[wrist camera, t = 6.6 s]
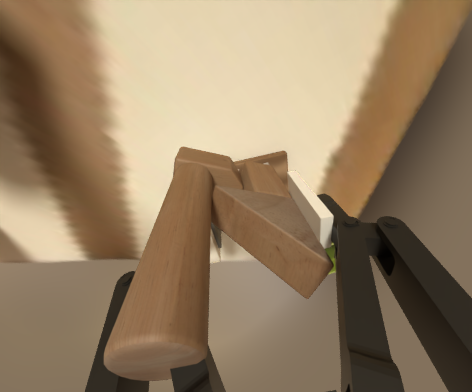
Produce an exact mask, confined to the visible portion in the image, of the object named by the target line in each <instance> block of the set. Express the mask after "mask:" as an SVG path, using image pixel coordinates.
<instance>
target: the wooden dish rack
mask: <svg viewBox="0 0 472 392" xmlns="http://www.w3.org/2000/svg"><path fill="white" fill-rule="evenodd" d="M245 161H252V162H257V163H261V164H266V165H271V166H273V168H274V169H275V171H276V172H277V174H278V176H279V177H280V179H281V180H282V182H283V184H284V185H285V187H286V189H287V190H288V177H287V172H288V162H287V153H286V152H285V151H280V152H276V153H271V154H267V155H263V156H258V157H254V158H249V159H245V160H241V161H236V162H233V163H234V164H235V166H236V167H237V169H238V170H239V172H240V174H241V172H242V169H243V165H244V163H245ZM288 192H289V190H288ZM220 248H222V247H221V230H220V229H219V228H218V227H217V226H215V225H214V224H213V223H212V222H211V240H210V264H211V263H216V262H220V261H221V258H220Z"/></svg>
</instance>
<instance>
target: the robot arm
mask: <svg viewBox="0 0 472 392" xmlns="http://www.w3.org/2000/svg"><path fill="white" fill-rule="evenodd" d="M287 177H288V190H289V193H290V195H291V197H292V199H293V200H294V201H295V203H296V204H297V206H298V207H299V209H300V211H301V212H302V214H303V216H304V217H305V219H306V221H307V222H308V224H309V225H310V227H311V229H312V230H313V232H314V234H315V235H316V237H317V239H318V240H319V242H320V243H321V244H322V246H323V247H324V249H325V248H330V247H331V243H332V242H333V244H334V245H335V252H334V258H335V266H336V282H337V283H336V284H337V301H338V302H337V303H338V321H339V338H340V356H341V392H404V388H403V383H402V379H401V376H400V372H399V370H398V368H397V366H396V364H395V363H394V362H393V360H392V358H391V355H390V350H389V345H388V340H387V336H386V331H385V327H384V322H383V318H382V313H381V308H380V304H379V300H378V295H377V290H376V286H375V281H374V277H373V272H372V267H371V263H370V258H369V255H370V256H372V258H373V259H374V261H375V263H376V265H377V266H378V268H379V270H380V271H381V273H382V275H383V277H384V279H385V280H386V282H387V284H388V286H389V287H390V289H391V291H392V293H393V294H394V296H395V298H396V300H397V301H398V303H399V305H400V307H401V308H402V310H403V312H404V314H405V316H406V317H407V319H408V321H409V323H410V324H411V326H412V328H413V329H414V331H415V333H416V335H417V337H418V338H419V340H420V342H421V344H422V345H423V347H424V349H425V350H426V352H427V354H428V356H429V358H430V359H431V361H432V363H433V365H434V366H435V368H436V370H437V372H438V373H439V375H440V377H441V379H442V381H443V382H444V384H445V386H446V387H447V389H448V391H449V392H472V298H471V297H470V296H469V295H468V294H467V293H466V292H465V290H464V289H463V288H462V287H461V286H460V285H459V284H458V283H457V282H456V280H455V279H454V278H453V277H452V276H451V275H450V274H449V273H448V271H447V270H446V269H445V268H444V267H443V266H442V265H441V264H440V262H439V261H438V260H437V259H436V258H435V257H434V256H433V255H432V254H431V252H430V251H429V250H428V249H427V248H426V247H425V246H424V245H423V243H422V242H421V241H420V240H419V239H418V238H417V237H416V236H415V234H414V233H413V232H412V231H411V230H410V229H409V228H408V227H407V226H406V224H405V223H404V222H402V221H401V220H399V219H397V218H394V217H389V216H384V217H381V218H379V219H378V220H377V223H363V222H361V221H359V220H358V219H357V218H354V217H350V216H348V215H347V214H346V213H345V212H344V211H343V209H342V208H341V207H340V206H339V205H337V203H336V202H335V201H334V200H333V199H332V198H331V197H330V196H328V195H326V194H321V195H316V194H315V193H314V192H313V191H312V189H311V188H310V187H309V186H308V184H307V183H306V182H305V181H304V180H303V178H302V177H301V176H300V175H299V174H298V172H297V171H296V170H294V171H289V172H287ZM134 275H135V272H134V271H131V272H128V273H126V274H124V275H123V276H122V277H121V278H120V279H119V280H118V281H117V284H116V287H115V290H114V293H113V297H112V300H111V304H110V307H109V310H108V314H107V317H106V321H105V324H104V327H103V331H102V334H101V338H100V341H99V345H98V348H97V352H96V355H95V359H94V362H93V365H92V369H91V372H90V376H89V379H88V382H87V386H86V389H85V392H148V391H149V381H141V380H133V379H128V378H125V377H121V376H119V375H117V374H115V373H113V372H111V371H109V370H108V369H107V368H106V366H105V365H104V352H105V347H106V345H107V342H108V340H109V337H110V335H111V332H112V330H113V327H114V325H115V322H116V320H117V317H118V315H119V312H120V310H121V307H122V305H123V302H124V300H125V297H126V295H127V292H128V290H129V287H130V285H131V282H132V280H133V277H134ZM170 371H171V376H172V381H173V386H174V391H175V392H226V391H225V389H224V386H223V383H222V381H221V378H220V375H219V373H218V370H217V368H216V365H215V362H214V359H213V357H212V354H211V351H210V349H209V346H208V351H207V356H206V358H205V359H203V360H202V361H200V362H199V363H197V364H193V365H188V366H183V367H178V368H173V369H170ZM328 392H336V390H334V391H328Z"/></svg>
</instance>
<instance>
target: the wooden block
mask: <svg viewBox="0 0 472 392" xmlns="http://www.w3.org/2000/svg"><path fill="white" fill-rule="evenodd" d="M211 222H212V223H213V224H214V225H215V226H217V227H218V228H219V229H220V230H222V231H223V232H224V233H225V234H227V235H228V236H229V237H230V238H232V239H233V240H234V241H235V242H236V243H238V244H239V245H240V246H241V247H243V248H244V249H245V250H246V251H248V252H249V253H250V254H251V255H253V256H254V257H255V258H256V259H258V260H259V261H260V262H261V263H263V264H264V265H265V266H266V267H267V268H269V269H270V270H271V271H272V272H274V273H275V274H276V275H277V276H279V277H280V278H281V279H282V280H284V281H285V282H286V283H287V284H288V285H290V286H291V287H292V288H293V289H295V290H296V291H297V292H299V293H300V294H301V295H302V296H303V297H305V298H307V299H308V298H309V297H310V296H311V295H312V294H313V292H314V291H315V290H316V289H317V287H318V286H319V285H320V283H321V282H322V281H323V279H325V277H326V276H327V275H328V274H329V272H330V271H331V270H332V268H333V267H334V264H333V262H332V260H331V259H330V257H329V255H328V254H327V252H326V251H325V249H324V247H323V246H322V244H321V243H320V242H319V240H318V239H317V237H316V235H315V234H314V232H313V230H312V229H311V227H310V225H309V224H308V222H307V221H306V219H305V217H304V216H303V214H302V212H301V211H300V209H299V207H298V206H297V204H296V203H295V201H294V200H293V199H292V197H291V195H290V193H289V192H288V190H287V189H286V187H285V185H284V184H283V182H282V180H281V179H280V177H279V176H278V174H277V172H276V171H275V169H274V168H273V166H271V165H266V164H261V163H257V162H252V161H245V163H244V165H243V169H242V172H241V174H240V172H239V170H238V169H237V167H236V166H235V164H234V163H233V161H232V160H231V158H230V157H228V156H224V155H219V154H215V153H210V152H205V151H201V150H196V149H192V148H187V147H181V148H180V149H179V152H178V154H177V156H176V158H175V163H174V173H173V179H172V182H171V184H170V187H169V189H168V192H167V194H166V197H165V199H164V202H163V204H162V207H161V209H160V212H159V214H158V217H157V219H156V222H155V224H154V227H153V229H152V232H151V234H150V237H149V239H148V242H147V244H146V247H145V250H144V252H143V255H142V257H141V260H140V262H139V265H138V267H137V270H136V272H135V275H134V277H133V280H132V282H131V285H130V287H129V290H128V292H127V295H126V297H125V300H124V302H123V305H122V307H121V310H120V312H119V315H118V317H117V320H116V322H115V325H114V327H113V330H112V332H111V335H110V337H109V340H108V342H107V345H106V347H105V352H104V365H105V366H106V368H107V369H108V370H109V371H111V372H113V373H115V374H117V375H119V376H121V377H125V378H128V379H133V380H141V381H159V380H168V379H172V376H171V371H170V369H173V368H178V367H183V366H188V365H193V364H197V363H199V362H200V361H202V360H203V359H205V358H206V356H207V351H208V316H209V313H208V312H209V278H210V274H209V273H210V240H211Z"/></svg>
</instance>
